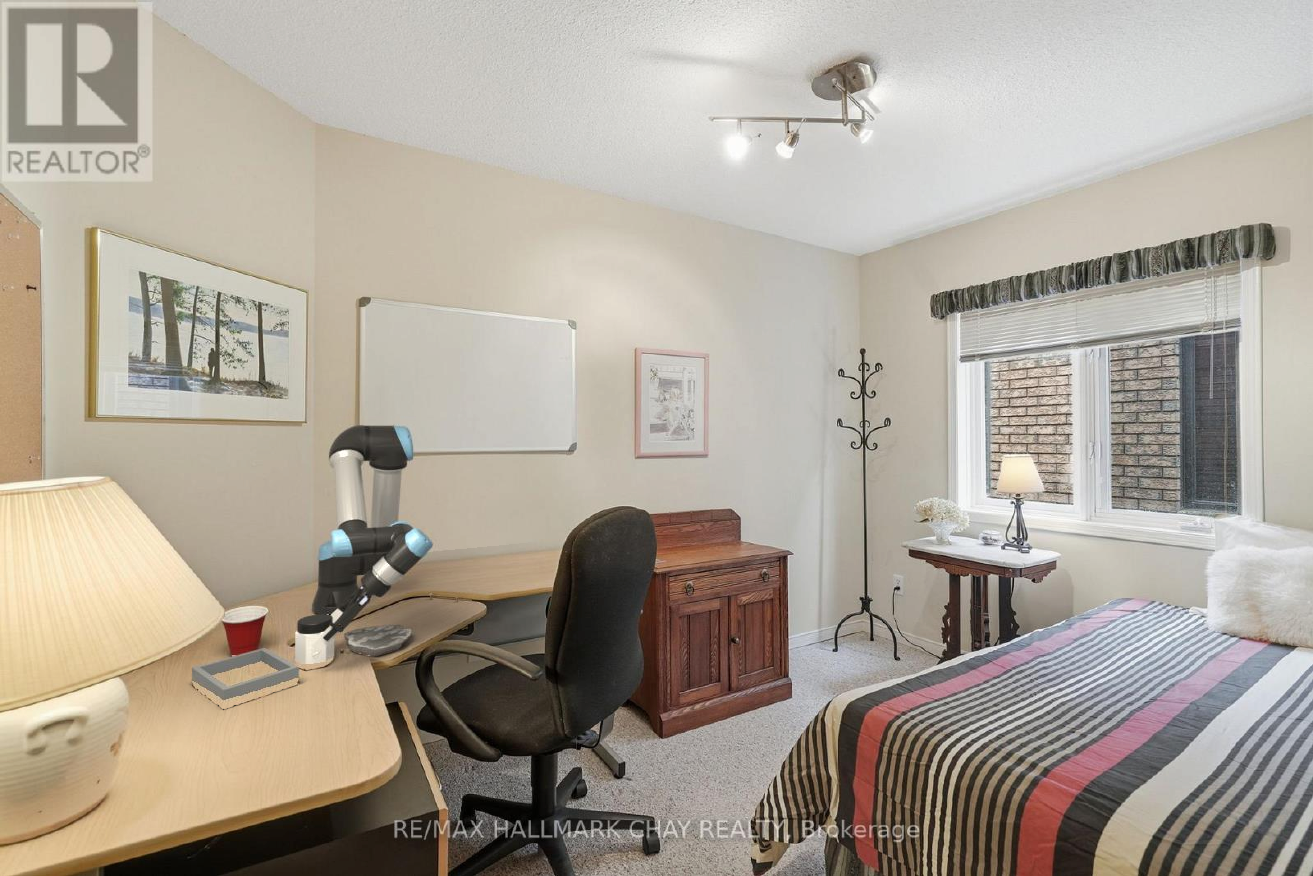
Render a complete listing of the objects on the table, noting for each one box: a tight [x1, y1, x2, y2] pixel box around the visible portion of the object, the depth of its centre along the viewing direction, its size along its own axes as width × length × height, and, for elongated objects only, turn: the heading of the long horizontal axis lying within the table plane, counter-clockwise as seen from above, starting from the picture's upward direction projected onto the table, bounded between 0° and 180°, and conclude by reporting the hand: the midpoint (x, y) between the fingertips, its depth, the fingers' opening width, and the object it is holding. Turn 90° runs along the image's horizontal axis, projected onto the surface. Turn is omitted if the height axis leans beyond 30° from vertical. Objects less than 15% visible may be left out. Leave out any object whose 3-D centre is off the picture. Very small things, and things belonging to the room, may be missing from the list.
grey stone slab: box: [343, 624, 413, 657], centre depth 169 cm, size 20×17×3 cm
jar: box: [294, 614, 335, 664], centre depth 155 cm, size 9×8×12 cm
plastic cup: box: [220, 605, 269, 656], centre depth 159 cm, size 11×11×12 cm
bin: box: [191, 647, 300, 700], centre depth 142 cm, size 19×16×4 cm
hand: (318, 639), depth 154 cm, fingers open, 13 cm apart
